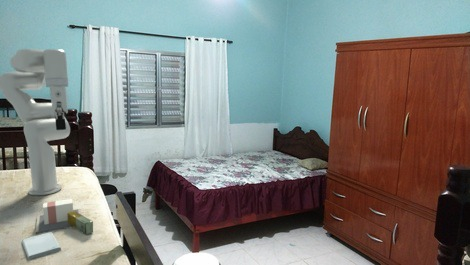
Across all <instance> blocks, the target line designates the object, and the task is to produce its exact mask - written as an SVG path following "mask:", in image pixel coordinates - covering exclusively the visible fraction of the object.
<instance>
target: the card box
mask: <svg viewBox="0 0 470 265" xmlns="http://www.w3.org/2000/svg"><path fill="white" fill-rule="evenodd" d="M73 204H74V203H73V198H68V199H62V200H53V201H48V202H43V204H42V213H43V214H42V215H44V224H51V223H56V222H62V221H67V220H68V216H67V213H69V212H72V211H73V210H74V205H73Z"/></svg>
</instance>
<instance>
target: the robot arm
mask: <svg viewBox="0 0 470 265" xmlns="http://www.w3.org/2000/svg"><path fill="white" fill-rule="evenodd" d="M9 64H10V66H11V68H12V69H13V70H14V71H6V72H3V73H1V74H0V92H1V94H2V95H3V97H4V98H5V99H6V100H7V102H9V103H10V104H11V105H12V107H13V109H14V110H15V112H16V113H17V115H18V118H19V120H20V121H21V122H22V123H23V124H24V126H23V133H24V136H25V141H26V144H27V150H28V158H29V166H30V176H31V185H32V186H31V188H30V189H28V194H29V195H32V196H44V195H52V194H54V193H57V192H60V191H61V190H62V185H61V184H59V183H58V179H57V178H58V177H57V167H56V157H55V150H54V148H53V147H52V146H51V145H50V144H49V143H48V142H50V141H55V140H57V141H58V140H62V139H66V138H67V137H69V136H70V133H71V126H70V124H69V122H68V120H67V118H66V117H65V113H66V114H68V113H69V109H68V108H69V107H68V97H67V96H68V95H67V89H66V88H69V78H68V66H67V65H68V64H67V55H66V52H65V50H63V49H55V48H48V49H40V48H39V49H37V48H22V49H19V50H17V51H16V53H15V54H13V55H12V57H11V58H10V63H9ZM44 86H45V88H49V93H50V102H36V101H35V99H34V97H32V96H31V95H30V94H29V93H27V92H25V91H37V90H38V91H39V90H41V89H43V87H44ZM60 189H61V190H60Z"/></svg>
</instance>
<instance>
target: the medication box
mask: <svg viewBox="0 0 470 265" xmlns="http://www.w3.org/2000/svg"><path fill="white" fill-rule="evenodd" d="M67 216H68V224H70V225H71V226H73V227H72V228H75V229H76V230H78V231H79V232H81V233H82V234H84V235H85V236H89V235H91V234H93V233H94V221H93V220H91V219H90V218H88V217H86V216H84V215H82V213H81V214H79V213H77V212H76V211H72V212H69V213H67Z"/></svg>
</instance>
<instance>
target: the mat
mask: <svg viewBox="0 0 470 265" xmlns="http://www.w3.org/2000/svg"><path fill="white" fill-rule="evenodd" d="M73 211H76V212H77V213H79V214H81V215H82V211H81V208H78V209H73ZM68 228H74V227H73V226H71V225H70V224H68V220H67V221H62V222H56V223H51V224H44V214H42V215H37V216H36V225H35V235H37V234H44V233H49V232H52V231H59V230H63V229H68Z"/></svg>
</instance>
